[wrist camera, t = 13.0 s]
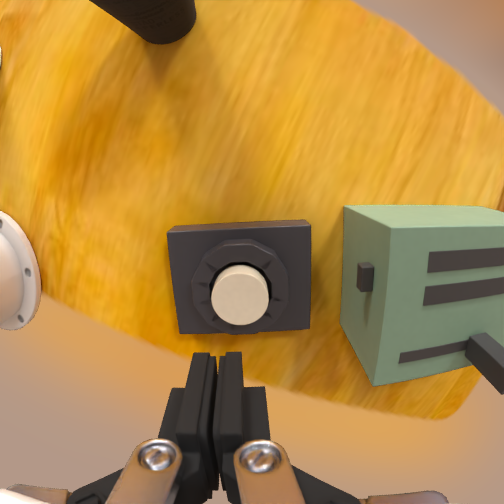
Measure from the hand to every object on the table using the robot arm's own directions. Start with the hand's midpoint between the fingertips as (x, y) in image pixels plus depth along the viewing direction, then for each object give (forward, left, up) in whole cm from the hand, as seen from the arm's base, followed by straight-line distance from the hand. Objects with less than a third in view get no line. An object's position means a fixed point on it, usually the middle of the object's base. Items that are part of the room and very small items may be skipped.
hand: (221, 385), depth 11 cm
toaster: (+15, -1, -15) cm, 21 cm away
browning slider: (+16, -4, -6) cm, 17 cm away
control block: (0, -1, -15) cm, 15 cm away
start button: (0, -1, -11) cm, 11 cm away
